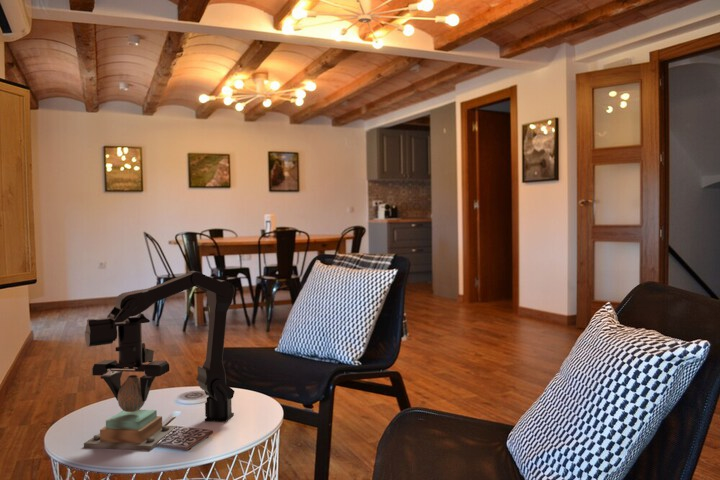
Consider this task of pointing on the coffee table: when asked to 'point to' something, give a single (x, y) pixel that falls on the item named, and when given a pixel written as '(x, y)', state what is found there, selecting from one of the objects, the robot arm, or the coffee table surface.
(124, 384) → the vase
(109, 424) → the stacked plates with bolts
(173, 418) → the coffee table surface
